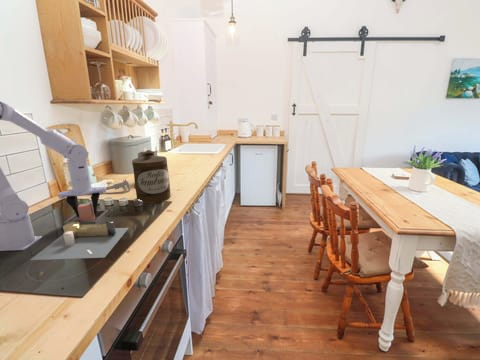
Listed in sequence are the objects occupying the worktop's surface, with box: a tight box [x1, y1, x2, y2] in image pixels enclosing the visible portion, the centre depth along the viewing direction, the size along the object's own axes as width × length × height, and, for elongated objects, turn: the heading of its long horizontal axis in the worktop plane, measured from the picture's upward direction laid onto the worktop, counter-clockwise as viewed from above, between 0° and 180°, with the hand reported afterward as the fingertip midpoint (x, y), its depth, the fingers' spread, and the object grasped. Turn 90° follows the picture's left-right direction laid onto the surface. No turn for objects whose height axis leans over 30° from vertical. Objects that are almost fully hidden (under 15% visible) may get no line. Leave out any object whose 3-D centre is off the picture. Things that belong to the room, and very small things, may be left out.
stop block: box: [77, 201, 96, 221], centre depth 95 cm, size 4×4×6 cm
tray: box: [62, 209, 111, 226], centre depth 96 cm, size 11×11×2 cm
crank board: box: [30, 227, 129, 261], centre depth 80 cm, size 20×18×5 cm
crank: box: [62, 220, 116, 239], centre depth 83 cm, size 15×4×4 cm, turn 92°
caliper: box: [105, 179, 131, 192], centre depth 129 cm, size 20×1×6 cm, turn 103°
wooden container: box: [131, 149, 171, 204], centre depth 118 cm, size 15×15×22 cm
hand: (87, 214), depth 96 cm, fingers open, 5 cm apart
